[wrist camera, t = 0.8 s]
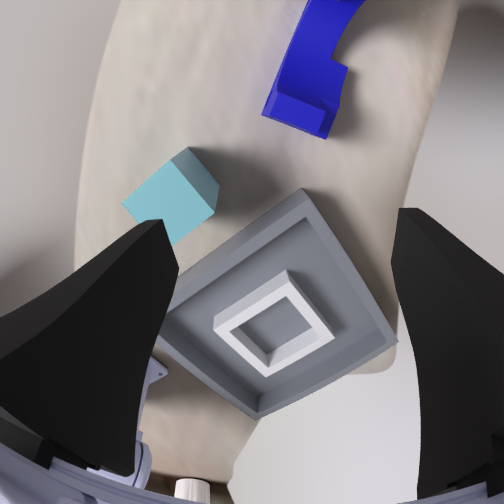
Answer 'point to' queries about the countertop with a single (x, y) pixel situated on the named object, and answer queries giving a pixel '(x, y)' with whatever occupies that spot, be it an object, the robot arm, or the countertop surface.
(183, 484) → the cup
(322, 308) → the grey square tray
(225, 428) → the countertop surface
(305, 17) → the cable clip
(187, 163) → the teal rectangular block
